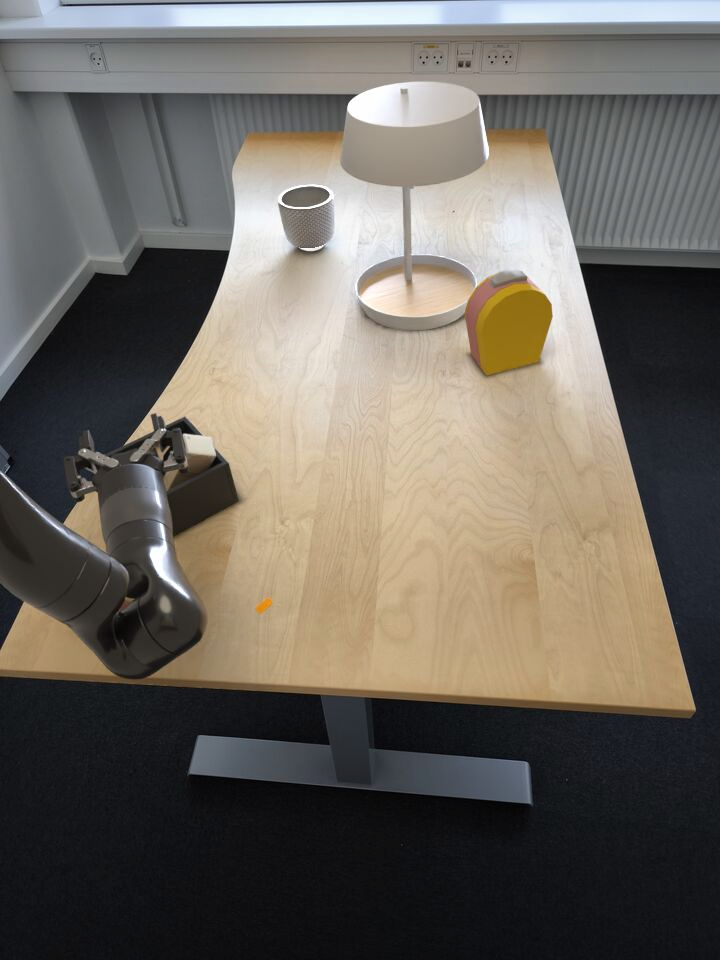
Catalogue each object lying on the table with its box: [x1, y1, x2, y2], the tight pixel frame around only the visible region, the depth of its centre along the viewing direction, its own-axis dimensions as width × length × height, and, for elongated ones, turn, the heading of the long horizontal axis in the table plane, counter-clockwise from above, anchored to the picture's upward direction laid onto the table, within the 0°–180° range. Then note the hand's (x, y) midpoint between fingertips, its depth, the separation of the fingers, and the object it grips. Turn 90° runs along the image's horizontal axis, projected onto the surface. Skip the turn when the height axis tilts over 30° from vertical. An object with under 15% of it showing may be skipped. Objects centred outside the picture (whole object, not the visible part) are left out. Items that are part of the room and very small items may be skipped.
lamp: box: [339, 81, 490, 332], centre depth 151 cm, size 29×29×43 cm
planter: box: [277, 184, 336, 248], centre depth 184 cm, size 14×14×13 cm
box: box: [164, 434, 216, 491], centre depth 121 cm, size 5×4×11 cm
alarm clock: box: [464, 268, 553, 376], centre depth 142 cm, size 15×8×18 cm, turn 108°
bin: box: [104, 416, 239, 537], centre depth 123 cm, size 16×16×9 cm
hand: (121, 427), depth 93 cm, fingers open, 8 cm apart
